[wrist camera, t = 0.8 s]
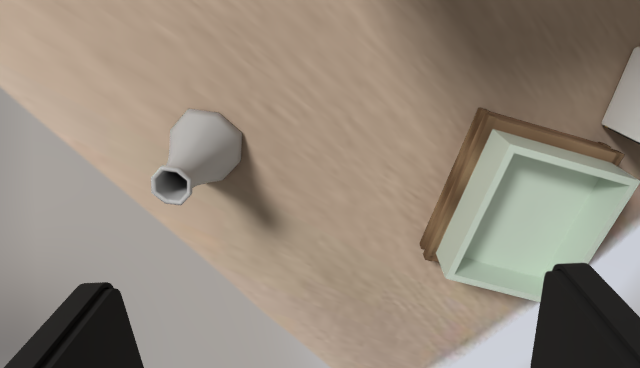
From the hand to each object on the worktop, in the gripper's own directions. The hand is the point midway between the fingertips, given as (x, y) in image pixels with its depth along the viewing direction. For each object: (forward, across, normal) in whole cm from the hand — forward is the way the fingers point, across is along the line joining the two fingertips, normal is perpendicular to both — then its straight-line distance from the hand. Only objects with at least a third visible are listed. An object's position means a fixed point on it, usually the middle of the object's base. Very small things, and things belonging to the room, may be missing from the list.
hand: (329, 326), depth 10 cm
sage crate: (+29, -16, +13) cm, 36 cm away
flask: (+32, +13, +5) cm, 35 cm away
